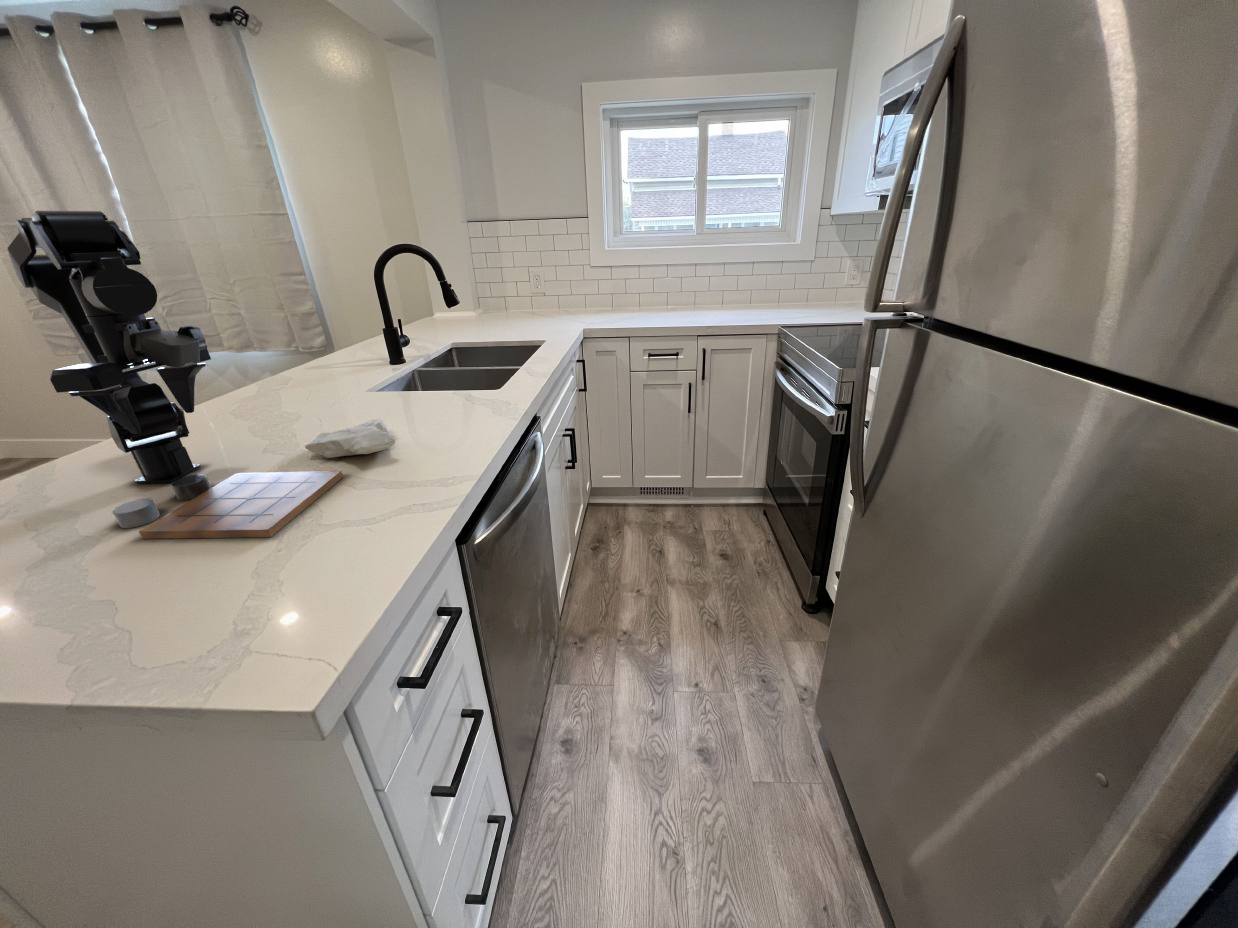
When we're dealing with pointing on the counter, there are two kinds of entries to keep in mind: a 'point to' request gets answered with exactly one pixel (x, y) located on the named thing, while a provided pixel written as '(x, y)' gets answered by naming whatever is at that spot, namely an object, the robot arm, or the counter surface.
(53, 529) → the counter surface
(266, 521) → the board
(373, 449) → the rock
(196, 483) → the black stone
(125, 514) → the grey stone
